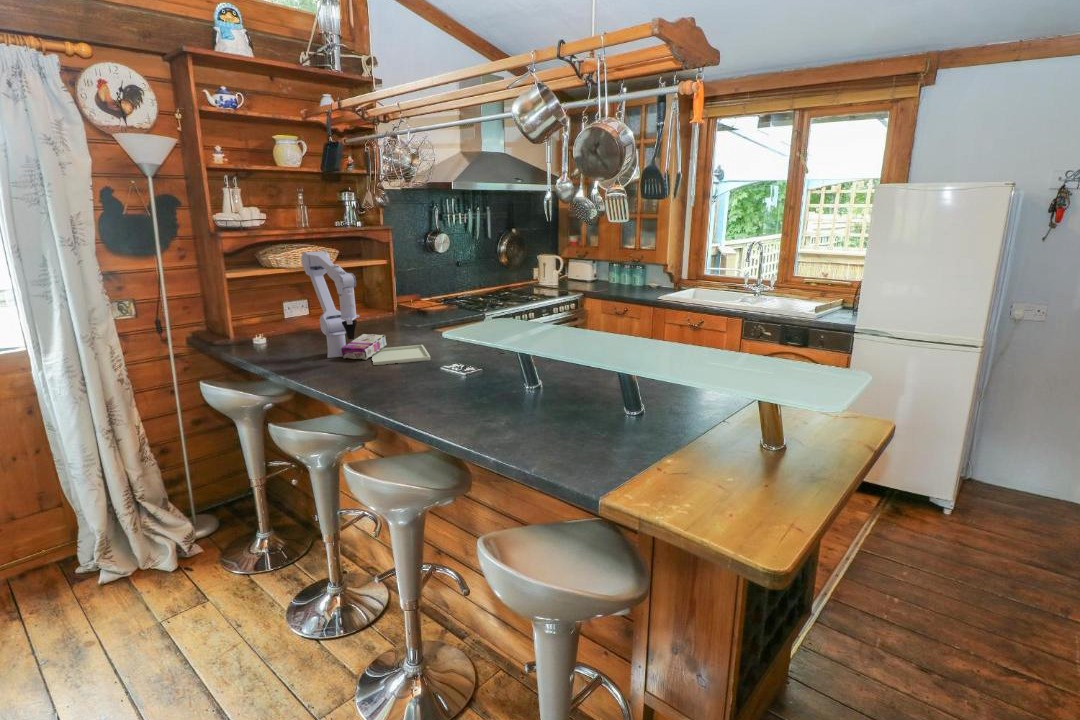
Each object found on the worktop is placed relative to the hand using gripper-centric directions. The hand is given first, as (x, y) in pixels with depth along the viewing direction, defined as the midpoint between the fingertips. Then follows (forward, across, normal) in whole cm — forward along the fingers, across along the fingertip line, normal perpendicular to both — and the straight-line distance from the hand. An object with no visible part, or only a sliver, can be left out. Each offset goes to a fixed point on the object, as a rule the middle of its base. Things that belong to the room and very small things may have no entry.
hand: (351, 339), depth 233 cm
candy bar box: (+7, +1, 0) cm, 7 cm away
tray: (+9, 0, -18) cm, 20 cm away
